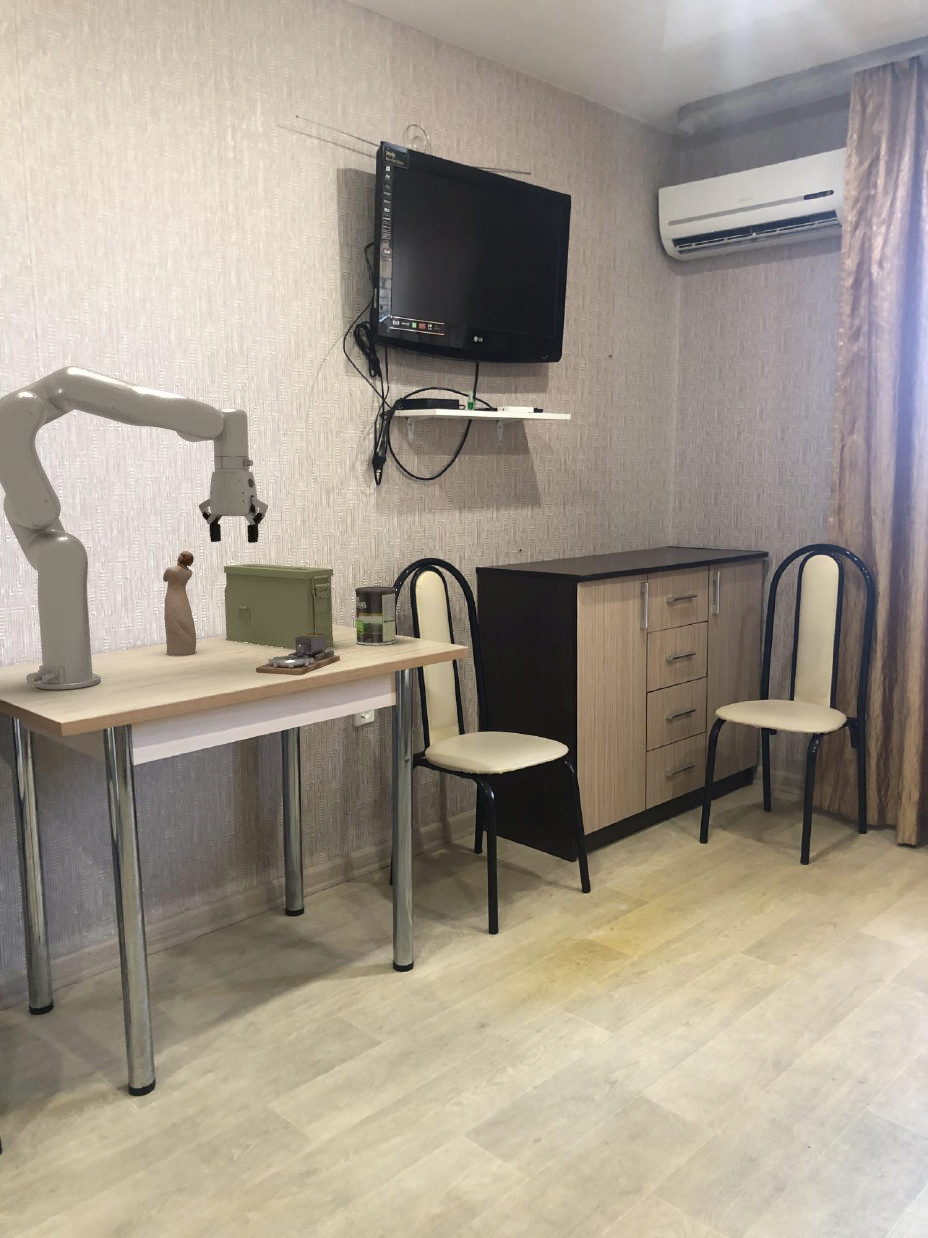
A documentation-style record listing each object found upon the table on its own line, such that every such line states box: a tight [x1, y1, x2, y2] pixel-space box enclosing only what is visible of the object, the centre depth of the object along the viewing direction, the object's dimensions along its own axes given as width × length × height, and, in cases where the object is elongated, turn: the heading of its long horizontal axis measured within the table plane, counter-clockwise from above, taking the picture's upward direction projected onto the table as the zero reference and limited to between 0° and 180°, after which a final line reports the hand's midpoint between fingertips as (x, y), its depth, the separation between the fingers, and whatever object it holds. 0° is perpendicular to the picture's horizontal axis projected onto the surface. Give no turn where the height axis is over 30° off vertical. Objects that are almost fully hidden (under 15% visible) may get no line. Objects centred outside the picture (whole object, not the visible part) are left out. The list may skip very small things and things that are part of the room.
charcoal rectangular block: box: [295, 633, 327, 659], centre depth 229 cm, size 7×4×5 cm, turn 161°
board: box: [255, 649, 341, 676], centre depth 225 cm, size 19×11×2 cm, turn 160°
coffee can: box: [354, 586, 397, 646], centre depth 255 cm, size 10×10×14 cm
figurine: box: [162, 550, 197, 657], centre depth 241 cm, size 8×8×25 cm
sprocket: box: [268, 644, 313, 667], centre depth 220 cm, size 10×10×4 cm
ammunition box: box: [223, 563, 335, 650], centre depth 254 cm, size 10×33×20 cm, turn 53°
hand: (234, 542), depth 223 cm, fingers open, 9 cm apart
